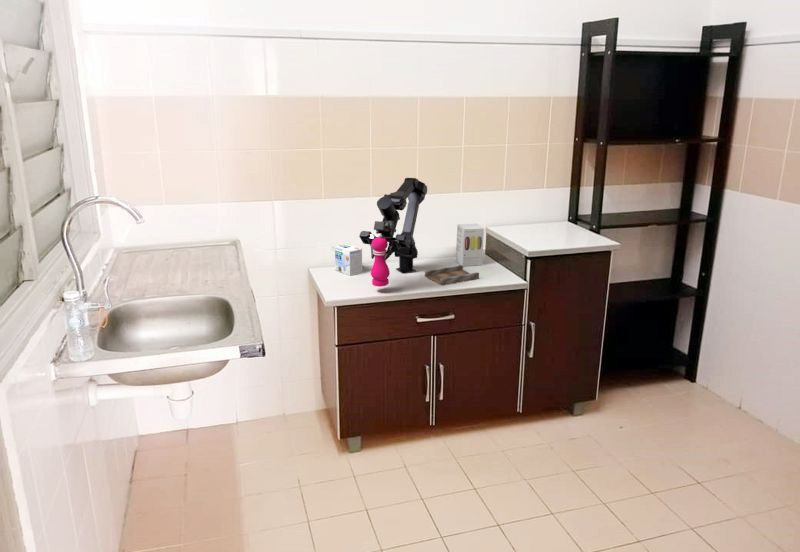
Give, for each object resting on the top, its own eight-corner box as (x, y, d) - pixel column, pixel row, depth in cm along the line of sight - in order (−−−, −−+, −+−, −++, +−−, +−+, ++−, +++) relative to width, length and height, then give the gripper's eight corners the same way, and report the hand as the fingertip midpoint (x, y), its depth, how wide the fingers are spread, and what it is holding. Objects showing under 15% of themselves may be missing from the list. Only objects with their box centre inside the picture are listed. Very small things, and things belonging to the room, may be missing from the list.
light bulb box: (334, 270, 264) (334, 245, 261) (347, 267, 268) (347, 243, 265) (350, 276, 257) (349, 251, 253) (363, 273, 261) (362, 248, 257)
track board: (441, 285, 246) (441, 279, 245) (424, 276, 257) (424, 270, 256) (478, 278, 254) (479, 273, 253) (461, 270, 265) (461, 265, 264)
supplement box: (462, 266, 270) (463, 229, 265) (455, 261, 278) (456, 224, 273) (482, 265, 272) (484, 227, 267) (475, 259, 280) (476, 223, 275)
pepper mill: (389, 287, 234) (389, 236, 228) (370, 287, 234) (369, 236, 228) (389, 280, 241) (389, 230, 234) (371, 280, 241) (370, 230, 234)
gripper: (360, 210, 236) (349, 245, 229) (407, 214, 229) (396, 250, 223) (369, 225, 245) (358, 260, 239) (414, 229, 239) (404, 265, 233)
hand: (378, 258), depth 233 cm, fingers closed on pepper mill, 5 cm apart
